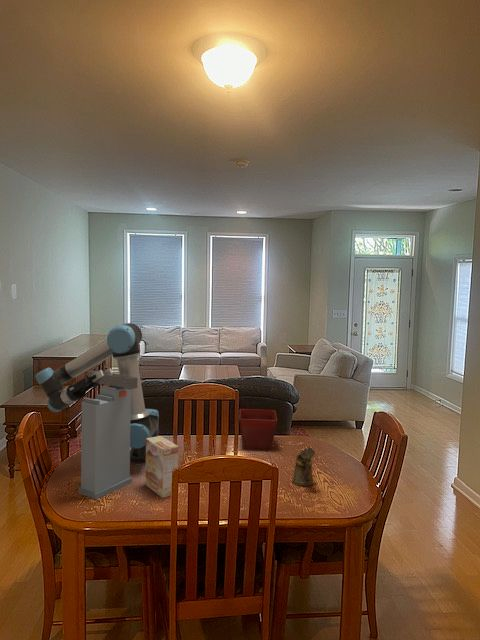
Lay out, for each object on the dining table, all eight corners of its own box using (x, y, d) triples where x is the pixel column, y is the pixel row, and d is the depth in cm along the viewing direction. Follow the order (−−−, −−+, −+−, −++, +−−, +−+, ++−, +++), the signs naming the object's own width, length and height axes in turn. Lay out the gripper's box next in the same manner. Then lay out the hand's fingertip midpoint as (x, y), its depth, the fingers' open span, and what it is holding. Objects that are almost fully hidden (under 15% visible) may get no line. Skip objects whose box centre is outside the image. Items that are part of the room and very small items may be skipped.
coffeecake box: (144, 484, 190) (145, 438, 189) (160, 480, 195) (161, 435, 193) (161, 498, 179) (162, 448, 177) (178, 493, 183) (179, 445, 182)
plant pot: (276, 453, 232) (277, 420, 231) (238, 451, 232) (239, 418, 231) (274, 440, 251) (275, 409, 250) (238, 439, 251) (239, 408, 250)
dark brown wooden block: (88, 381, 193) (88, 371, 193) (96, 379, 197) (96, 369, 196) (129, 389, 181) (130, 378, 180) (137, 387, 184) (137, 377, 184)
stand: (78, 492, 181) (78, 390, 178) (115, 476, 197) (116, 382, 194) (95, 499, 176) (96, 393, 173) (132, 482, 192) (133, 385, 189)
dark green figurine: (295, 491, 188) (297, 448, 187) (290, 477, 202) (292, 437, 201) (317, 491, 189) (319, 448, 188) (310, 478, 202) (312, 437, 201)
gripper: (92, 397, 208) (125, 377, 197) (59, 404, 193) (92, 383, 182) (86, 381, 210) (119, 361, 198) (53, 388, 195) (86, 366, 183)
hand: (106, 372), depth 190 cm, fingers closed on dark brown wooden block, 4 cm apart
